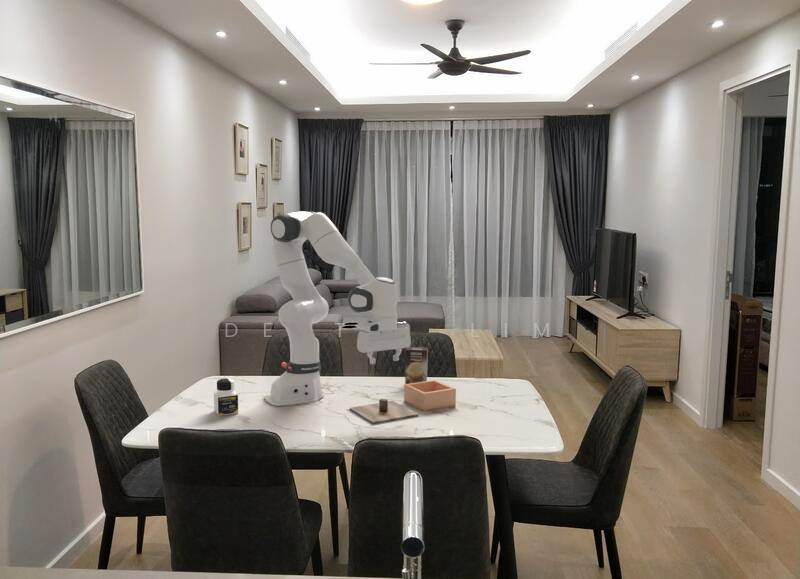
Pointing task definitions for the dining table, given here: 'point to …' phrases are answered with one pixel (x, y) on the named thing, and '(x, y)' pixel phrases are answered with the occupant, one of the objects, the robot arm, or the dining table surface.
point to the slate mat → (379, 423)
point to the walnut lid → (383, 412)
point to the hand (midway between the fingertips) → (384, 362)
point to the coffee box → (416, 365)
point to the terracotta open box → (430, 395)
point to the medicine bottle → (225, 397)
